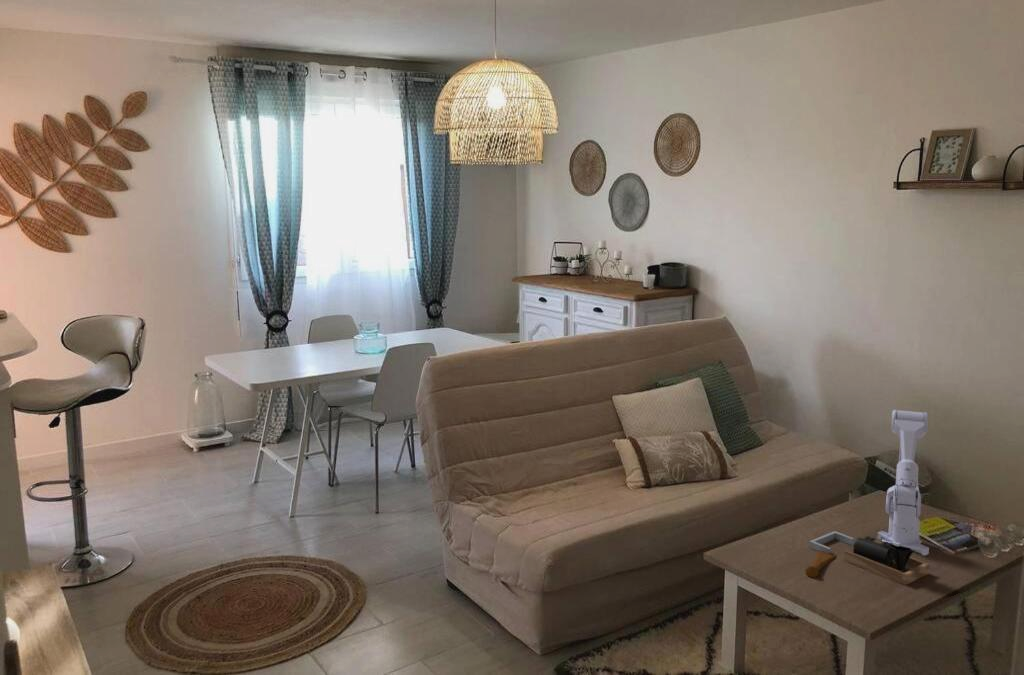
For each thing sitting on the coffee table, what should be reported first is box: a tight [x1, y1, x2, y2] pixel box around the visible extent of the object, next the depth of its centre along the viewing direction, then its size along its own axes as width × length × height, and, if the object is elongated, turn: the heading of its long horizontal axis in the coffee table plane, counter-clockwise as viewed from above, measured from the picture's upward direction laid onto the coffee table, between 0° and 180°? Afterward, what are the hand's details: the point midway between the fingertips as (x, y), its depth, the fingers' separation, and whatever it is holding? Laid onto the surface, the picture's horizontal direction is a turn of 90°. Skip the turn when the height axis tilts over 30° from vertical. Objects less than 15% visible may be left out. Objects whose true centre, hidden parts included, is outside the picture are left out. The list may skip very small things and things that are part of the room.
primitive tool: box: [805, 551, 837, 579], centre depth 248 cm, size 19×6×4 cm, turn 148°
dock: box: [808, 530, 855, 554], centre depth 261 cm, size 13×7×2 cm, turn 124°
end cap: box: [852, 535, 895, 567], centre depth 249 cm, size 10×7×7 cm
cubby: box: [843, 550, 931, 586], centre depth 246 cm, size 12×20×3 cm, turn 34°
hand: (900, 569), depth 242 cm, fingers closed
